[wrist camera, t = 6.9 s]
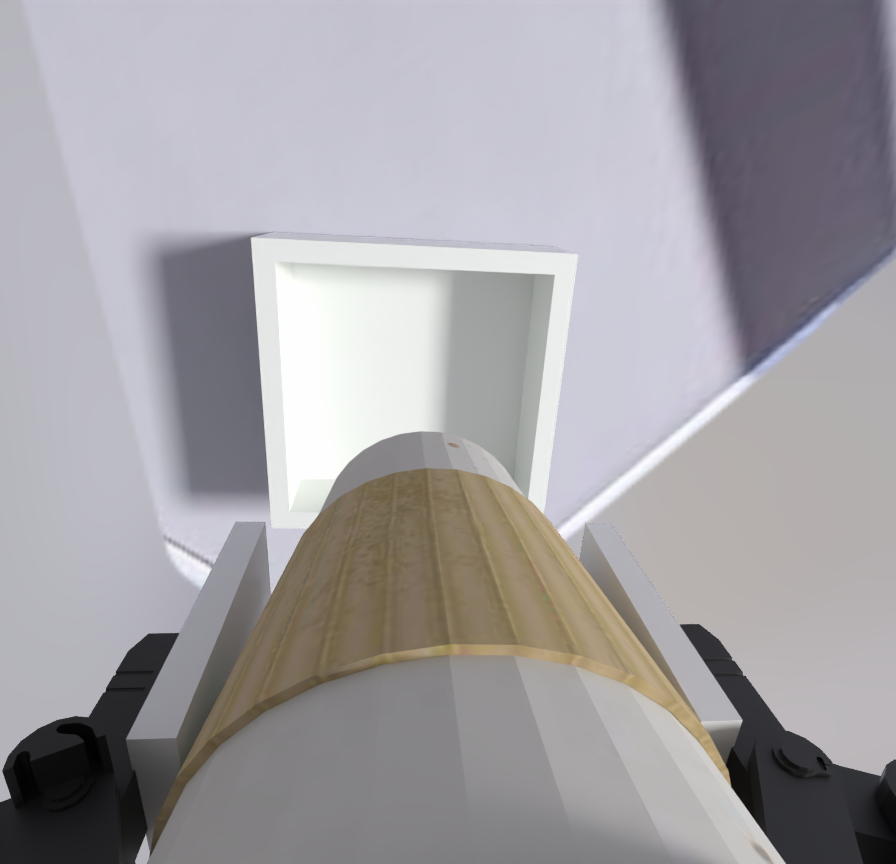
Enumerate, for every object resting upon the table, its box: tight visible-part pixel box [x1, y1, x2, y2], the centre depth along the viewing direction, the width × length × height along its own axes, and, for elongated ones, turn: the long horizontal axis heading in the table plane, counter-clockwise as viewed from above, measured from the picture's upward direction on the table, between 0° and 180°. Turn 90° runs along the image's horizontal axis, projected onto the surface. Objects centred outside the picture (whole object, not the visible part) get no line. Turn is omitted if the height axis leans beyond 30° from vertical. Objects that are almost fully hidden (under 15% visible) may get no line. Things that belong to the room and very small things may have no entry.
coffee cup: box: [147, 431, 786, 864], centre depth 11 cm, size 10×10×15 cm
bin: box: [251, 232, 578, 528], centre depth 31 cm, size 15×15×5 cm
